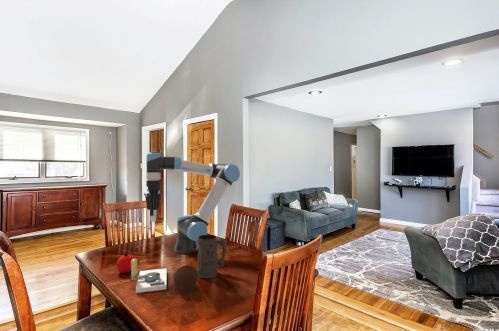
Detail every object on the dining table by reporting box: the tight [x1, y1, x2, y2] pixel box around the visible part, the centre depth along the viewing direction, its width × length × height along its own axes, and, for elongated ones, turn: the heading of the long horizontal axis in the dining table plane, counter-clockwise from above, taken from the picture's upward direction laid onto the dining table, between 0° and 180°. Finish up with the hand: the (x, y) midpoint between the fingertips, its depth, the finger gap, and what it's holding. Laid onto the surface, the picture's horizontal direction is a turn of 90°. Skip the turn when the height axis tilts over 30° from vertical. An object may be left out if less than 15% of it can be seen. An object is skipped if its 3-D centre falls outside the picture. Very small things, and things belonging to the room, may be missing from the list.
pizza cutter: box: [130, 258, 160, 282], centre depth 127 cm, size 13×7×10 cm, turn 108°
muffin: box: [172, 265, 199, 295], centre depth 123 cm, size 12×11×10 cm
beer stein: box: [196, 234, 228, 279], centre depth 140 cm, size 15×11×20 cm
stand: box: [135, 268, 168, 294], centre depth 130 cm, size 13×20×4 cm, turn 17°
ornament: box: [116, 252, 135, 274], centre depth 141 cm, size 9×9×10 cm
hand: (153, 221), depth 152 cm, fingers closed
